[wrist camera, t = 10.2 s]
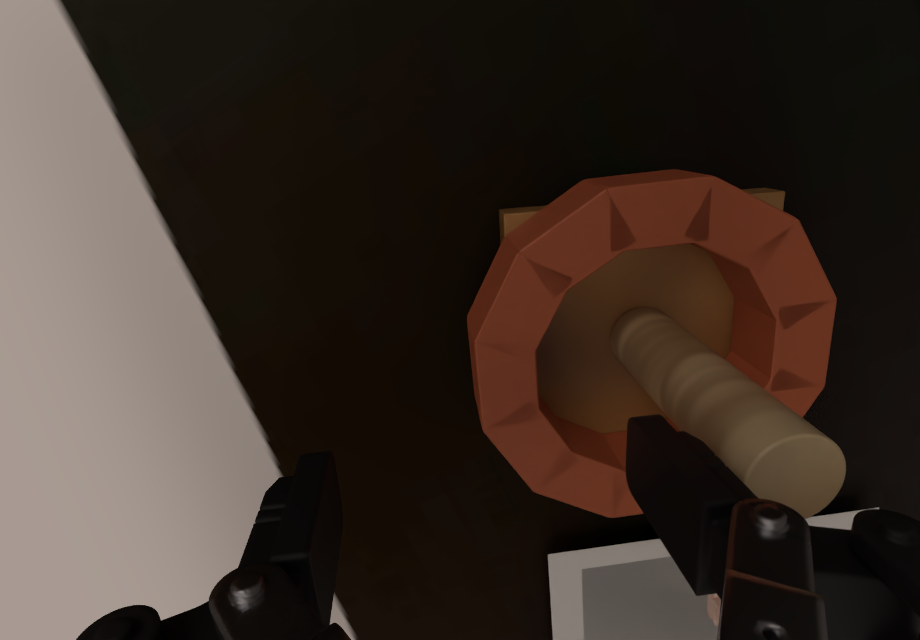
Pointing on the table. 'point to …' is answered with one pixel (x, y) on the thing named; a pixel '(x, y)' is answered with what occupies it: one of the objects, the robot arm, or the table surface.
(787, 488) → the stand
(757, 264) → the ring
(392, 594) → the table surface
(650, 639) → the touchpad
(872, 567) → the robot arm
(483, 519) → the table surface
